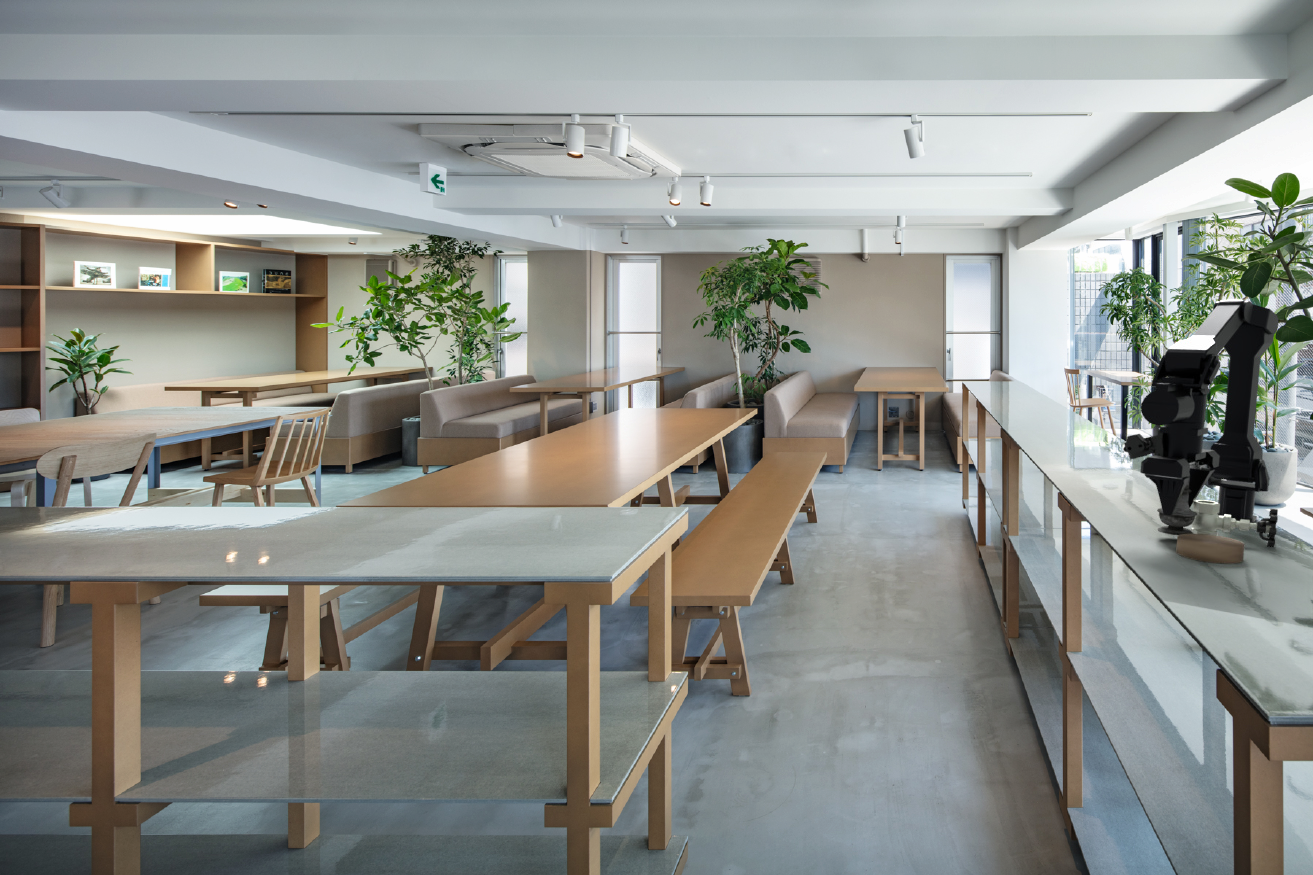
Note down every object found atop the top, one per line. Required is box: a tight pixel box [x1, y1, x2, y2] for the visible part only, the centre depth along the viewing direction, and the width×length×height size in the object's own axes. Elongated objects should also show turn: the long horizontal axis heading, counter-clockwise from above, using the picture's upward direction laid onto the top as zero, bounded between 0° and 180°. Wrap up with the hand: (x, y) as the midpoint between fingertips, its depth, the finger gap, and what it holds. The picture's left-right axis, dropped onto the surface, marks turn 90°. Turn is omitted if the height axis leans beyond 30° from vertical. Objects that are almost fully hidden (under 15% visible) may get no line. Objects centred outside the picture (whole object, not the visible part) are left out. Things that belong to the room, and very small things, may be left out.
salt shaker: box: [1157, 473, 1197, 536], centre depth 143 cm, size 6×6×12 cm
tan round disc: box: [1175, 534, 1245, 565], centre depth 134 cm, size 9×9×2 cm
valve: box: [1190, 499, 1279, 549], centre depth 143 cm, size 7×7×12 cm
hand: (1176, 511), depth 144 cm, fingers closed on salt shaker, 8 cm apart
